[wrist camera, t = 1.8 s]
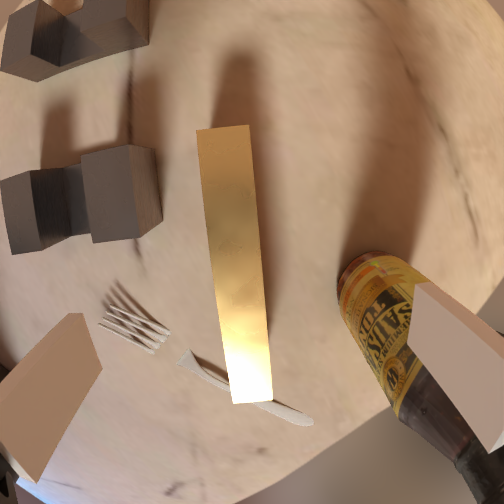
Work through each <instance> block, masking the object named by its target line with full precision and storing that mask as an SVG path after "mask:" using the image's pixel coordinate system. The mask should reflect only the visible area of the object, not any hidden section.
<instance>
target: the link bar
mask: <svg viewBox="0 0 504 504" xmlns="http://www.w3.org/2000/svg"><path fill="white" fill-rule="evenodd" d="M196 134H197V145H198V155H199V165H200V175H201V184H202V193H203V202H204V211H205V219H206V227H207V235H208V243H209V251H210V258H211V266H212V273H213V280H214V287H215V294H216V301H217V307H218V314H219V321H220V327H221V333H222V339H223V346H224V352H225V358H226V363H227V369H228V375H229V381H230V386H231V392H232V397H233V403H244V402H256V401H267V400H273V397H272V384H271V371H270V358H269V345H268V333H267V321H266V309H265V297H264V285H263V273H262V261H261V250H260V238H259V227H258V215H257V204H256V193H255V182H254V171H253V161H252V150H251V139H250V129H249V125H239V126H229V127H220V128H211V129H203V130H196Z"/></svg>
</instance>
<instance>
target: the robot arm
mask: <svg viewBox="0 0 504 504" xmlns="http://www.w3.org/2000/svg"><path fill="white" fill-rule="evenodd" d="M407 345H408V346H409V347H410V348H411V349H412V351H413V352H414V353H415V354H416V356H417V357H418V358H419V360H420V361H421V362H422V363H423V365H424V366H425V367H426V368H427V370H428V371H429V372H430V374H431V375H432V376H433V377H434V379H435V380H436V381H437V383H438V384H439V385H440V387H441V388H442V389H443V391H444V392H445V393H446V395H447V396H448V397H449V399H450V400H451V401H452V403H453V404H454V405H455V407H456V408H457V409H458V411H459V412H460V413H461V415H462V416H463V418H464V419H465V420H466V422H467V423H468V425H469V426H470V427H471V429H472V430H473V432H474V433H475V435H476V436H477V437H478V439H479V440H480V442H481V443H482V445H483V446H484V448H485V449H486V451H487V452H488V454H489V453H491V452H493V451H494V450H496V449H498V448H499V447H501V446H503V445H504V334H502V333H500V332H498V331H495V330H494V329H492V328H491V327H490V326H489V325H487V324H486V323H485V322H484V321H482V320H481V319H480V318H478V317H477V316H476V315H475V314H473V313H472V312H471V311H469V310H468V309H467V308H466V307H464V306H463V305H462V304H460V303H459V302H458V301H456V300H455V299H454V298H452V297H451V296H450V295H448V294H447V293H446V292H444V291H443V290H441V289H440V288H439V287H437V286H436V285H435V284H433V283H432V282H425V283H419V284H415V290H414V299H413V307H412V314H411V321H410V328H409V334H408V340H407ZM101 371H102V366H101V364H100V361H99V359H98V356H97V353H96V351H95V348H94V345H93V342H92V339H91V337H90V334H89V331H88V328H87V325H86V322H85V318H84V315H83V313H69V314H68V315H66V316H65V317H64V318H63V319H62V320H61V321H60V322H59V323H58V324H57V325H56V326H55V327H54V328H53V329H52V330H51V331H50V332H49V333H48V334H47V335H46V336H45V337H44V338H43V339H42V340H41V341H40V342H39V343H38V344H37V345H36V346H35V347H34V348H33V349H32V350H31V351H30V352H29V353H28V354H27V355H26V356H25V357H24V358H23V359H22V360H21V361H20V362H19V363H18V364H17V365H16V367H15V368H14V369H13V370H12V371H11V372H9V371H8V370H7V369H5V368H4V367H2V366H1V365H0V504H18V501H17V497H16V492H15V488H14V485H15V483H16V482H17V480H18V478H19V476H20V477H22V478H24V479H26V480H29V481H31V482H33V483H36V484H37V482H38V481H39V479H40V477H41V475H42V473H43V471H44V469H45V467H46V465H47V463H48V461H49V460H50V458H51V456H52V454H53V452H54V450H55V449H56V447H57V445H58V443H59V441H60V440H61V438H62V436H63V434H64V432H65V431H66V429H67V427H68V425H69V424H70V422H71V420H72V418H73V417H74V415H75V413H76V412H77V410H78V408H79V407H80V405H81V403H82V402H83V400H84V398H85V397H86V395H87V393H88V392H89V390H90V388H91V387H92V385H93V383H94V382H95V380H96V379H97V377H98V375H99V374H100V372H101Z"/></svg>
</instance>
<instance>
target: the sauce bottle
mask: <svg viewBox="0 0 504 504" xmlns="http://www.w3.org/2000/svg"><path fill="white" fill-rule="evenodd" d="M425 282H431V281H430V280H429V279H427V278H426V277H425V276H424V275H422V274H421V273H420V272H418V271H417V270H416V269H414V268H413V267H412V266H410V265H409V264H408V263H406V262H405V261H403V260H402V259H400V258H398V257H394V256H393V255H391V254H388V253H385V252H381V251H372V252H369V253H365V254H363V255H361V256H359V257H358V258H356V259H355V260H353V261H352V262H351V263H350V264H349V266H348V267H347V268H346V270H345V271H344V273H343V274H342V276H341V278H340V279H339V285H338V287H337V298H338V304H339V306H340V313H341V316H342V318H343V320H344V321H345V323H346V325H347V327H348V328H349V330H350V332H351V334H352V335H353V337H354V339H355V341H356V342H357V344H358V346H359V347H360V349H361V351H362V353H363V355H364V357H365V358H366V361H367V363H368V364H369V365H370V367H371V369H372V371H373V373H374V374H375V376H376V378H377V380H378V382H379V384H380V385H381V387H382V389H383V391H384V392H385V394H386V396H387V398H388V400H389V402H390V404H391V406H392V408H393V410H394V411H395V413H396V415H397V417H398V419H399V420H400V421H401V422H402V423H404V424H405V425H407V426H408V427H410V428H411V429H412V430H414V431H415V432H417V433H418V434H420V435H421V436H422V437H423V438H424V439H425V440H427V441H428V442H429V443H430V444H431V445H433V446H434V447H435V448H436V449H437V450H438V451H440V452H441V453H442V454H443V455H444V456H446V457H447V458H448V459H449V460H451V461H452V462H453V463H454V465H455V468H456V469H457V471H458V472H459V473H461V474H462V476H463V478H464V479H465V481H466V483H467V484H468V486H469V488H470V491H471V492H472V494H473V495H474V498H475V499H476V501H477V504H504V445H503V446H501V447H499V448H498V449H496V450H494V451H493V452H491V453H489V454H488V452H487V451H486V449H485V448H484V446H483V445H482V443H481V442H480V440H479V439H478V437H477V436H476V435H475V433H474V432H473V430H472V429H471V427H470V426H469V425H468V423H467V422H466V420H465V419H464V418H463V416H462V415H461V413H460V412H459V411H458V409H457V408H456V407H455V405H454V404H453V403H452V401H451V400H450V399H449V397H448V396H447V395H446V393H445V392H444V391H443V389H442V388H441V387H440V385H439V384H438V383H437V381H436V380H435V379H434V377H433V376H432V375H431V374H430V372H429V371H428V370H427V368H426V367H425V366H424V365H423V363H422V362H421V361H420V360H419V358H418V357H417V356H416V354H415V353H414V352H413V351H412V349H411V348H410V347H409V346H408V345H407V340H408V334H409V328H410V321H411V314H412V307H413V299H414V290H415V284H419V283H425ZM432 283H433V282H432ZM433 284H434V283H433ZM437 287H438V286H437Z"/></svg>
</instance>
